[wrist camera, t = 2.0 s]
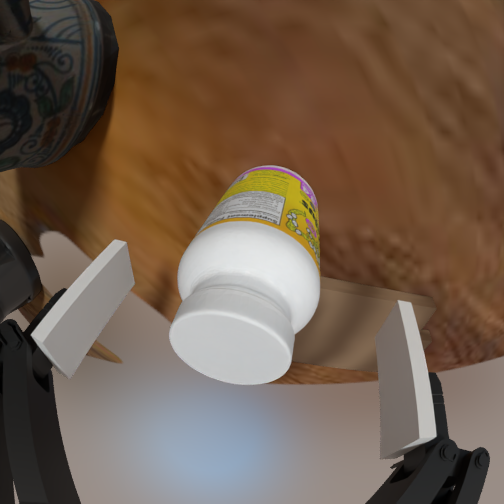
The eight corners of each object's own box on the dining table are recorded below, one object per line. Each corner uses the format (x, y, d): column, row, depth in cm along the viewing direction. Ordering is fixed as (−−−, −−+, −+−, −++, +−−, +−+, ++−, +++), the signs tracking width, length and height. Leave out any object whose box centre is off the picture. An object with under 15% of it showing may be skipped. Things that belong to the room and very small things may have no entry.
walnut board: (244, 340, 30) (242, 351, 28) (256, 263, 23) (253, 274, 22) (401, 363, 28) (403, 373, 27) (449, 300, 22) (454, 311, 20)
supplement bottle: (314, 247, 21) (306, 403, 11) (231, 241, 22) (170, 381, 12) (320, 164, 18) (334, 301, 7) (224, 161, 19) (120, 278, 8)
